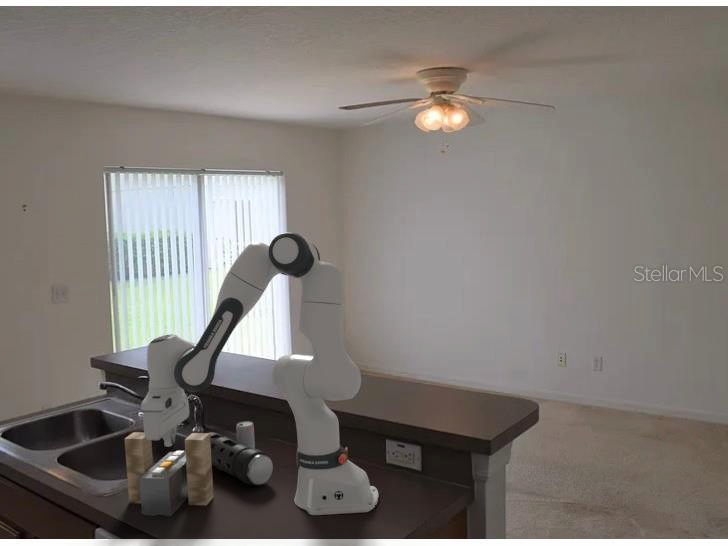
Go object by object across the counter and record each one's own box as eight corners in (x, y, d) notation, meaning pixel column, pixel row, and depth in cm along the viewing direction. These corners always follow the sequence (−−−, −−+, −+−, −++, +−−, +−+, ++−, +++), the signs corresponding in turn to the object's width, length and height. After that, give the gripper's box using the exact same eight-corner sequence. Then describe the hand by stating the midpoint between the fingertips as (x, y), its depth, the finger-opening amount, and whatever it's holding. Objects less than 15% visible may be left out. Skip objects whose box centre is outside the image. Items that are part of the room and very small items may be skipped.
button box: (198, 486, 183) (196, 449, 182) (171, 516, 166) (168, 474, 165) (172, 485, 185) (169, 448, 184) (142, 515, 167) (139, 474, 166)
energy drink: (241, 457, 204) (239, 420, 203) (257, 458, 203) (255, 421, 202) (235, 464, 199) (233, 426, 198) (252, 464, 198) (250, 426, 197)
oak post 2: (213, 497, 176) (209, 433, 174) (206, 505, 171) (202, 439, 169) (196, 496, 177) (192, 433, 175) (188, 504, 172) (184, 439, 170)
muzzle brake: (223, 459, 204) (221, 427, 203) (276, 484, 183) (274, 449, 182) (196, 468, 197) (194, 435, 196) (248, 495, 177) (246, 458, 176)
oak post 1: (155, 495, 178) (150, 432, 177) (146, 503, 174) (142, 438, 172) (138, 494, 179) (133, 432, 177) (129, 503, 174) (124, 438, 173)
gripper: (172, 384, 184) (175, 431, 185) (137, 406, 164) (141, 458, 165) (193, 384, 183) (196, 431, 185) (160, 406, 163) (164, 459, 164)
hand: (169, 444), depth 175 cm, fingers closed
